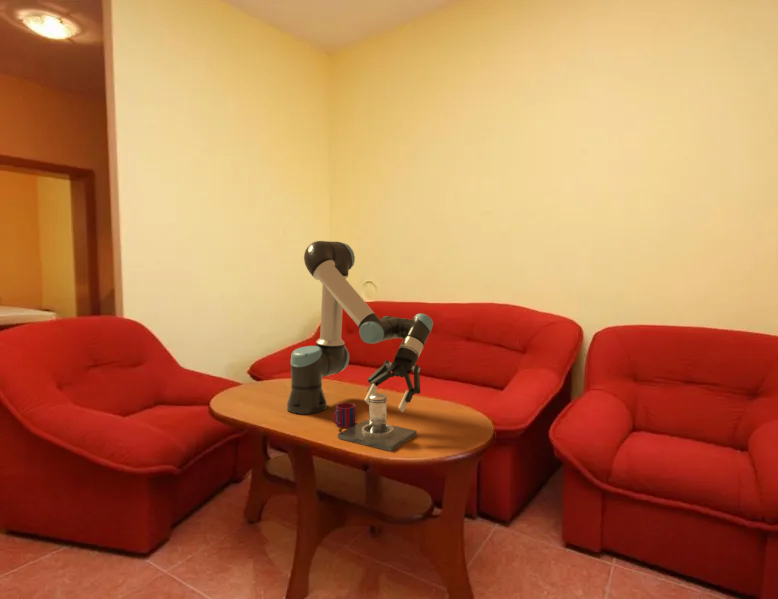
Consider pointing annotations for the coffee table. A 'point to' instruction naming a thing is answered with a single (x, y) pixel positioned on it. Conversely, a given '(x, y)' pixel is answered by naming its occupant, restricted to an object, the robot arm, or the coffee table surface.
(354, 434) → the grey base plate
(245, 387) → the coffee table surface
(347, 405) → the mug
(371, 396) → the disc
